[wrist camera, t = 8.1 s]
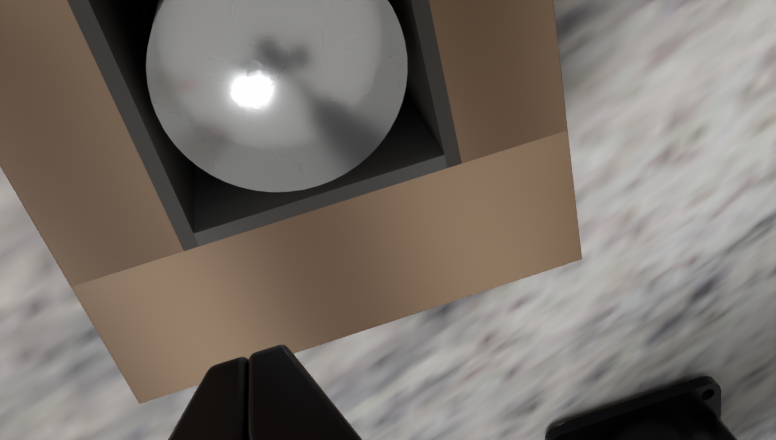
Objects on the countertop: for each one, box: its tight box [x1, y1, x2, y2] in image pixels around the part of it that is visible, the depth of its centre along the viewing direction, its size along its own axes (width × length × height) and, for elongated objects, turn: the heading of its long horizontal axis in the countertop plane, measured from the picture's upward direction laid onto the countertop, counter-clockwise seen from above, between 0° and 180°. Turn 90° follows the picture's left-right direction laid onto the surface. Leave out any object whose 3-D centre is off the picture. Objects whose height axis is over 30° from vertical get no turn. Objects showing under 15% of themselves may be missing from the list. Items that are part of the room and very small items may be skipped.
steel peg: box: [146, 0, 408, 192], centre depth 15 cm, size 4×4×5 cm
